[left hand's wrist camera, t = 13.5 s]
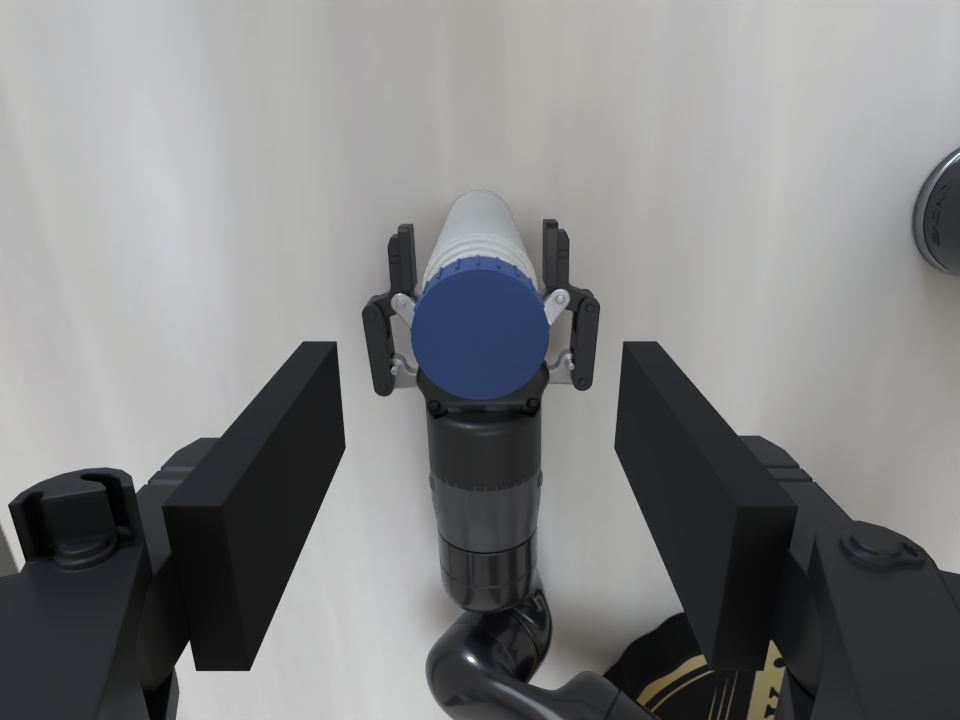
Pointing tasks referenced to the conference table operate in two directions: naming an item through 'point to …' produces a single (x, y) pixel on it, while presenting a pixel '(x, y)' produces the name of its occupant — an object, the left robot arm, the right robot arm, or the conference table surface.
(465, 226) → the bottle
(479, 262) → the cap
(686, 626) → the sign
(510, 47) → the conference table surface
